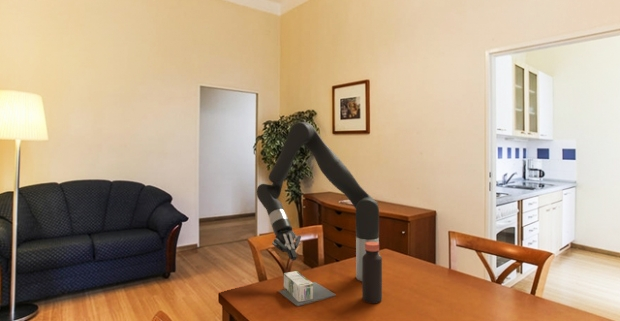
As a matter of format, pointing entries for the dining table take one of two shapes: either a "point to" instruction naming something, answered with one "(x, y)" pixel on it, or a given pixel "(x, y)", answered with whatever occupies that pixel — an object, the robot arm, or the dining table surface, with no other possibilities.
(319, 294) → the slate mat
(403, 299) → the dining table surface
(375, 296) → the bottle
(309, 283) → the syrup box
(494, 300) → the dining table surface
